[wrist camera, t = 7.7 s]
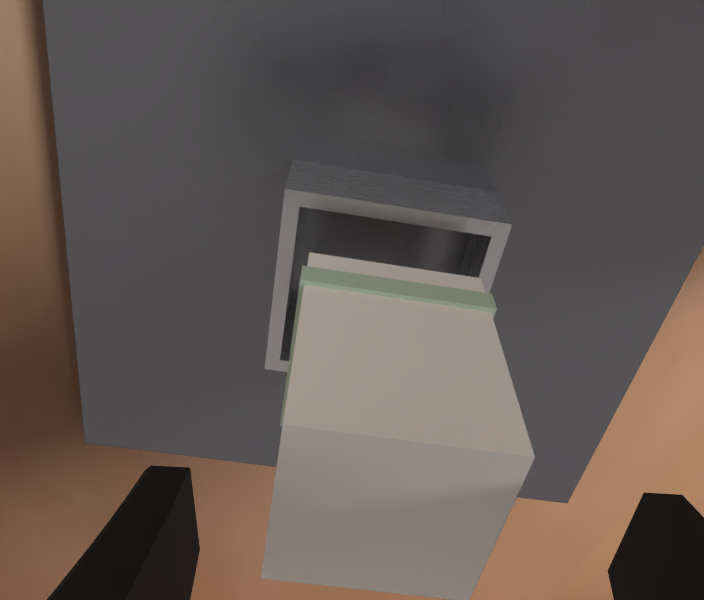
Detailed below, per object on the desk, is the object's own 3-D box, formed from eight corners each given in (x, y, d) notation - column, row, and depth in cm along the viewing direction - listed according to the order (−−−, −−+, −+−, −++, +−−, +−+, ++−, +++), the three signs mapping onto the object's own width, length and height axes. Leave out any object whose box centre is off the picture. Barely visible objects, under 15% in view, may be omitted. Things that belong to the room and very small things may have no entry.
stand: (815, -23, 15) (936, 0, 12) (560, 482, 25) (589, 569, 22) (46, -173, 14) (-51, -193, 11) (95, 423, 23) (52, 506, 20)
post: (486, 274, 14) (543, 454, 10) (442, 408, 17) (472, 604, 12) (305, 247, 14) (277, 419, 10) (286, 387, 16) (255, 580, 12)
